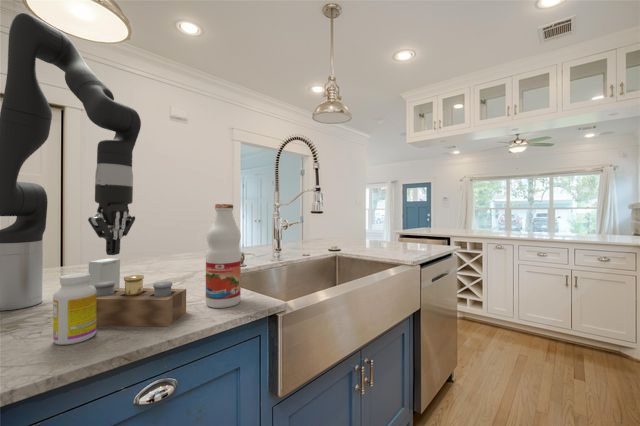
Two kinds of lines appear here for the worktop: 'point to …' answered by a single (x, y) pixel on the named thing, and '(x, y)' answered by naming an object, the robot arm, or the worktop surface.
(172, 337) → the worktop surface
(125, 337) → the worktop surface
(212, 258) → the fruit juice
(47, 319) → the worktop surface
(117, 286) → the skincare box
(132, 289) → the plug mid
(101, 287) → the plug
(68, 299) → the supplement bottle
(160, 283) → the plug
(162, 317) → the socket block
